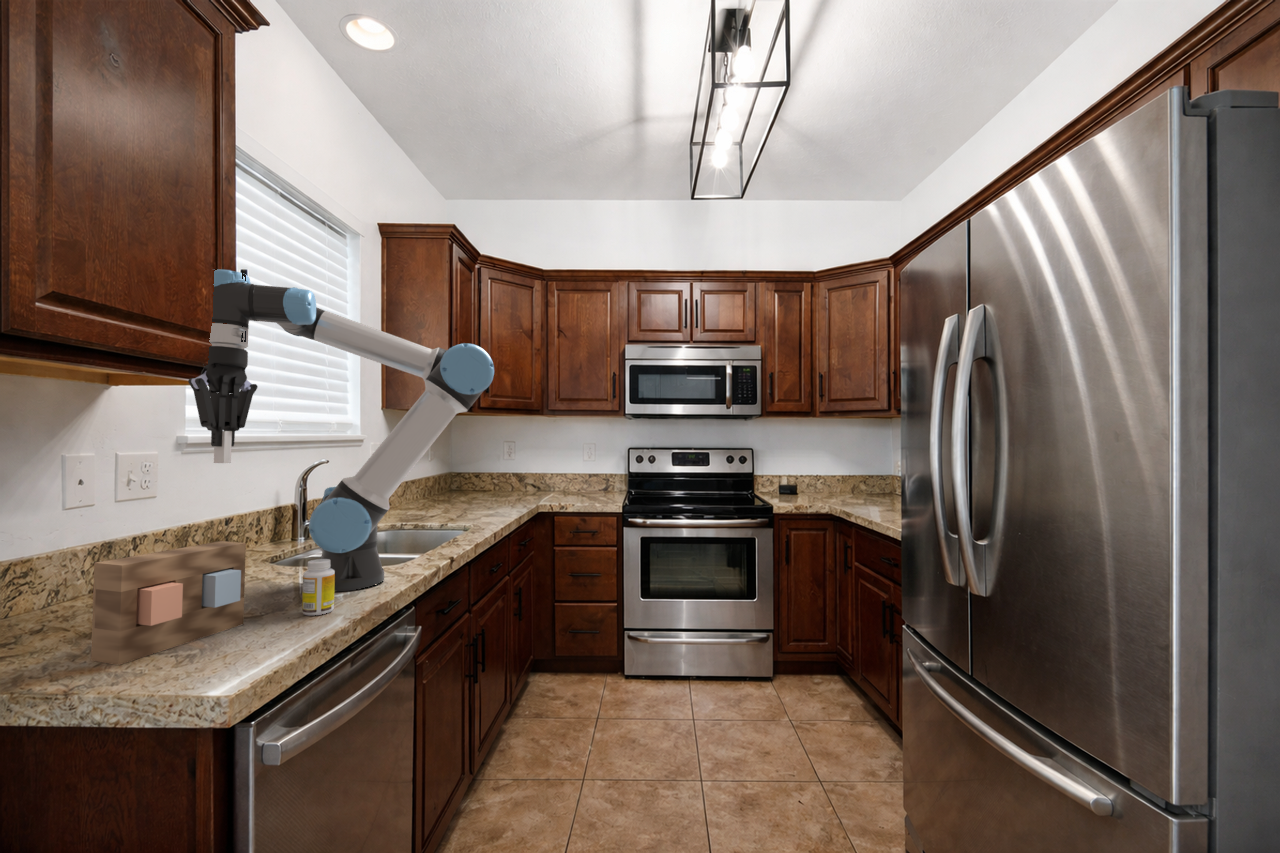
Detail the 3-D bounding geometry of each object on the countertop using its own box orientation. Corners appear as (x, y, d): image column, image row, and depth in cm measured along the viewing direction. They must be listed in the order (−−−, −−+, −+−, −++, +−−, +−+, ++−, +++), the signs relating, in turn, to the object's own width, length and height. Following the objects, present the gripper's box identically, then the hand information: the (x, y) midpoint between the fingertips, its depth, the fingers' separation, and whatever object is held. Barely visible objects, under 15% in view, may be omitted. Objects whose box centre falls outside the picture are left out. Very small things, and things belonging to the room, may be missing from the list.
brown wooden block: (218, 621, 107) (221, 541, 107) (243, 624, 105) (245, 543, 105) (91, 660, 87) (94, 562, 88) (118, 665, 86) (122, 565, 86)
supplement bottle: (334, 606, 116) (335, 556, 117) (333, 614, 111) (334, 562, 112) (303, 610, 114) (304, 559, 114) (300, 618, 109) (301, 564, 109)
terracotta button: (150, 612, 94) (151, 580, 94) (181, 617, 92) (182, 583, 92) (118, 621, 90) (119, 587, 90) (150, 625, 88) (151, 590, 88)
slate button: (210, 597, 104) (211, 567, 104) (240, 600, 102) (241, 570, 102) (184, 604, 99) (185, 573, 99) (214, 607, 97) (215, 576, 98)
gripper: (207, 341, 109) (203, 464, 108) (268, 351, 121) (265, 462, 121) (178, 342, 111) (174, 463, 110) (241, 353, 123) (238, 461, 123)
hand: (222, 462), depth 115 cm, fingers closed
